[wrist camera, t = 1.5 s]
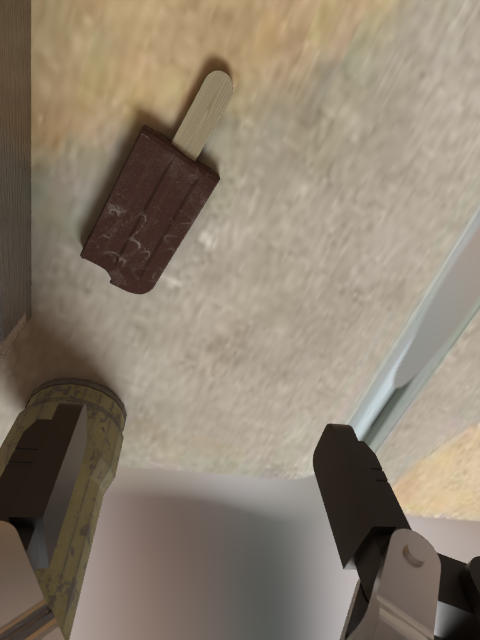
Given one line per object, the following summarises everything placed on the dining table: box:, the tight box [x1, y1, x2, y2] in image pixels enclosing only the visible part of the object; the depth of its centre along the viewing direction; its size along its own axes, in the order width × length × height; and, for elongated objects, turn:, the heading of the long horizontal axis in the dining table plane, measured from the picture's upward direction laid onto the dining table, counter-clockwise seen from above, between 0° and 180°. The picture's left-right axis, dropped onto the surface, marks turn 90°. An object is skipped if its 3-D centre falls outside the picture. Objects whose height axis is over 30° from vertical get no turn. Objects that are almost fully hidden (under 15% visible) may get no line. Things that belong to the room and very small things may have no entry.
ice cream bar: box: [80, 71, 233, 294], centre depth 24 cm, size 5×2×15 cm
